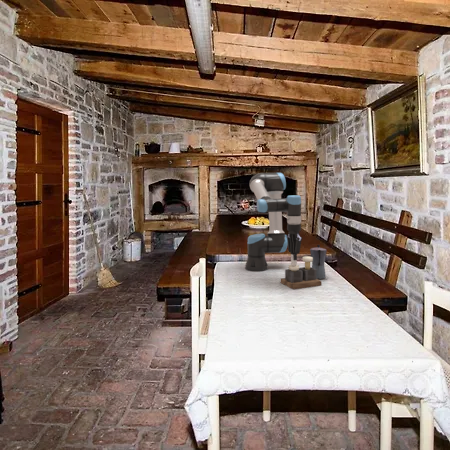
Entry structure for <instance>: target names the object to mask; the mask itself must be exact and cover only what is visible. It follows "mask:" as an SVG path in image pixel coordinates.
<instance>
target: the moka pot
mask: <svg viewBox="0 0 450 450" xmlns="http://www.w3.org/2000/svg"><path fill="white" fill-rule="evenodd" d="M320 246H321V245H320V244H317V247H311V248H310V249H309V251H310V257H313V261H312V262H311V268H314V269H316V279H318V280H323V279H325V278H327V277H326V268H325V262H326V258H327V249H326V248H323V247H320Z"/></svg>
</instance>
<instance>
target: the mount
mask: <svg viewBox="0 0 450 450" xmlns="http://www.w3.org/2000/svg"><path fill="white" fill-rule="evenodd" d="M280 283H281V284H282V285H285V287H288V288H290V289H292V290H299V289H306V288H314V287H320V286H323V285H322V283H323V281H322V280H321V279H316V269H314V268H312V266H310V270H306V269H305V266H304V267H299V270H297V271H293V272H292V271H291V270H289V268H288V269H287V268H286V269H284V277H282V278H280Z"/></svg>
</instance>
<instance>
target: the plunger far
mask: <svg viewBox="0 0 450 450" xmlns="http://www.w3.org/2000/svg"><path fill="white" fill-rule="evenodd" d="M312 261H313V257H311V256H307V255H306V256H302V262H304V267H305V269H306V270H310V267H311V263H312Z"/></svg>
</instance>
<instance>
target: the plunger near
mask: <svg viewBox="0 0 450 450" xmlns="http://www.w3.org/2000/svg"><path fill="white" fill-rule="evenodd" d="M299 268H300V265H298V264H297V266H291V264H289V265H288V269H289V270H291V271H292V272H293V271H297V270H299Z"/></svg>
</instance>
